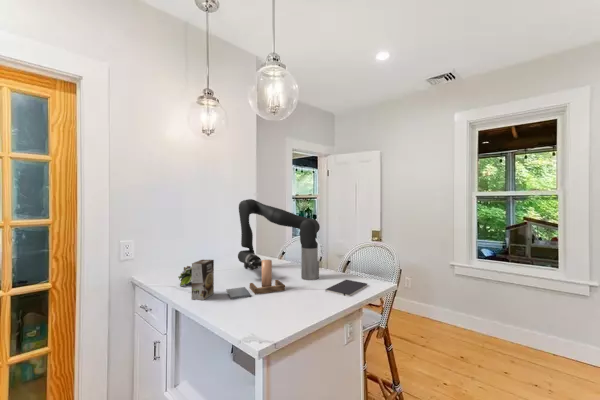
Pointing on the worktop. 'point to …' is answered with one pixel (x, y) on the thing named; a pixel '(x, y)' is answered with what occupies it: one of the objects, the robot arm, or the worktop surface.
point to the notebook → (346, 287)
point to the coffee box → (202, 279)
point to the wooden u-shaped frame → (268, 288)
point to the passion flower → (186, 275)
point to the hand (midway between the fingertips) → (260, 267)
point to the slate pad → (238, 293)
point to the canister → (266, 273)
